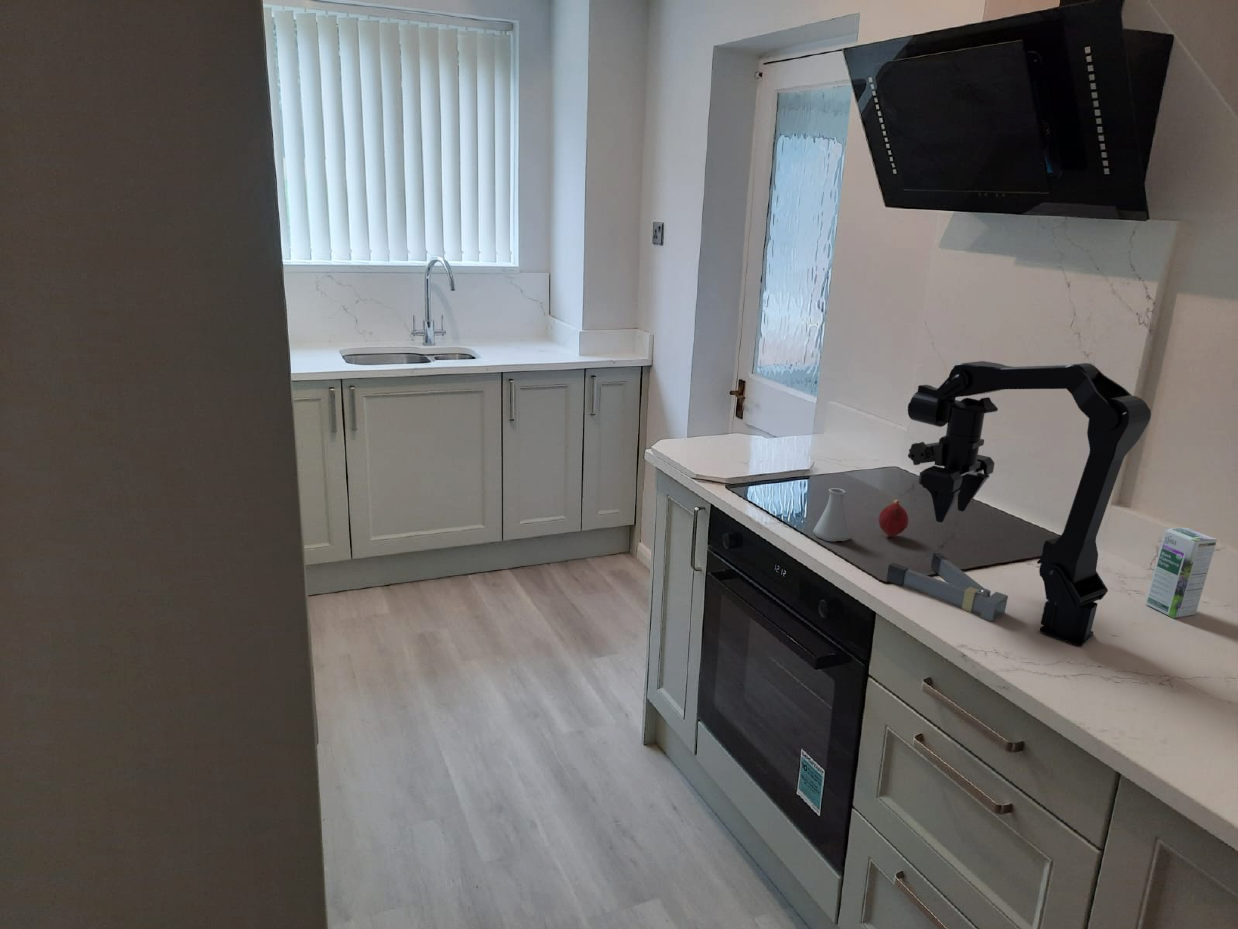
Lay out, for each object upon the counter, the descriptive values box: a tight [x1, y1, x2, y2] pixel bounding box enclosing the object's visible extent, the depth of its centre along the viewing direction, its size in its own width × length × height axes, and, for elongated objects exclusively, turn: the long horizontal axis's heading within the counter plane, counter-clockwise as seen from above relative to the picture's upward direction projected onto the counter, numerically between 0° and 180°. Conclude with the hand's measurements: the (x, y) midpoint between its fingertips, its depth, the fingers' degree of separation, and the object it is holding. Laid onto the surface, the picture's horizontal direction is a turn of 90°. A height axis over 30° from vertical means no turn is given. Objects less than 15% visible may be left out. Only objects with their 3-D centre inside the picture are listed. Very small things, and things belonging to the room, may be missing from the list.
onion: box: [878, 499, 909, 538], centre depth 175 cm, size 6×6×8 cm
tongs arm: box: [930, 552, 992, 597], centre depth 153 cm, size 17×2×3 cm, turn 9°
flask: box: [812, 487, 851, 542], centre depth 174 cm, size 7×7×10 cm
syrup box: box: [1145, 527, 1218, 619], centre depth 147 cm, size 6×6×14 cm
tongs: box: [885, 562, 1009, 623], centre depth 149 cm, size 20×5×4 cm, turn 45°
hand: (950, 516), depth 154 cm, fingers open, 9 cm apart
